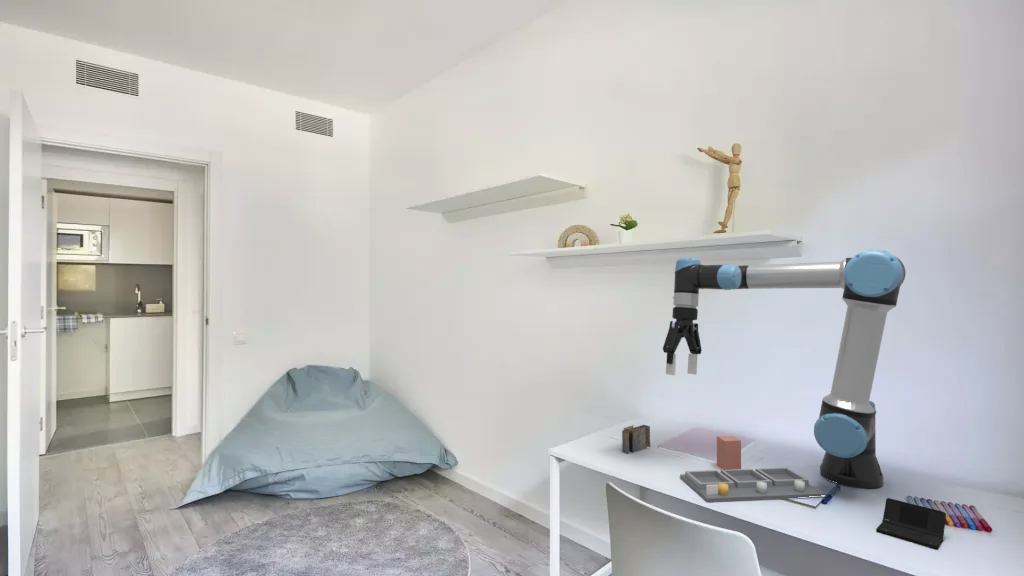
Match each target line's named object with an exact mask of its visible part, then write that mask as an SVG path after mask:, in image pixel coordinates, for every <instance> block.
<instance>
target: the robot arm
mask: <svg viewBox="0 0 1024 576" xmlns="http://www.w3.org/2000/svg"><path fill="white" fill-rule="evenodd" d="M905 278H906V267H905V265H904V263H903V262H902V261H901V259H900V258H898V257H897V256H896V255H893V254H892V253H891V252H889V251H886V250H881V249H869V250H868V249H867V250H864V251H861V252H859V253H857V254H855V255H854V256H853V257H845V258H844V259H842V260H841V261H828V262H827V261H824V262H795V263H776V264H775V263H773V264H772V263H771V264H770V263H769V264H753V265H752V264H751V265H750V264H749V265H745V264H744V265H736V264H726V263H725V264H706V265H705V264H702V263H701V260H700V259H699V258H693V257H682V258H678V259H677V260H676V261H675V268H674V284H673V285H674V289H673V297H672V299H673V302H672V303H673V306H674V307H672V319H673V320H671V321H670V322H669V327H668V331H667V333H666V337H665V340H664V344H663V346H662V351H663V353H665V354H666V362H665V363H666V364H665V365H666V367H665V375H668V376H669V375H670V376H676V365H677V353H676V351H677V349H678V347H679V345H680V343H681V340H682V339H683V338H684V339H685V341H686V344H687V347H688V350H689V352H690V353H688V357H687V361H688V362H687V374H689V375H697V367H698V355H701V354H702V349H703V348H702V344H701V340H700V338H701V337H700V333H699V323H694V321H696V320H698V315H699V314H698V311H699V310H698V307H699V296H700V295H699V294H700V293H699V292H700V290H701V289H702V290H705V289H706V290H723V291H730V290H749V289H750V290H751V289H755V290H756V289H757V290H759V289H760V290H761V289H764V290H765V289H843V293H842V298H841V299H842V300H843V302H844V303H845V305H847V308H846V314H845V318H844V322H843V328H842V332H841V338H840V343H839V348H838V354H837V359H836V365H835V368H834V369H835V370H834V374H833V379H832V384H831V388H830V389H831V390H830V393H829V394H827V395H825V396H823V398H822V400H821V401H822V402H821V406H820V411H819V415H818V419H816V421H815V423H814V425H813V436H814V438H815V441H816V443H817V444H818V445H819V447H820V448H821V449H822V450H824V451H825V453H824V456H823V459H822V462H821V463H820V466H819V474H821V475H820V476H821V477H822V476H823V477H824V479H825V478H826V480H827V479H828V480H827V481H829V480H831V481H834V482H837V483H838V485H840V486H841V485H842V486H846V487H851V488H858V489H878V488H882V487H883V485H884V475H883V472H882V469H881V466H880V462H879V461H878V457H877V455H876V454H877V453H876V452H877V451H876V450H877V448H876V444H877V443H876V439H877V438H876V434H877V433H876V414H877V410H876V404H875V402H873V401H871V400H870V398H871V393H872V389H873V383H874V378H875V373H876V369H877V364H878V360H879V354H880V351H881V350H880V349H881V345H882V340H883V335H884V331H885V325H886V320H887V316H888V312H890V311H891V310H892V309H894V308H896V307H897V304H898V299H899V294H900V289H901V286H902V285H903V283H904V282H905ZM823 477H822V478H823ZM831 481H830V482H831ZM834 482H833V483H834ZM837 483H836V484H837Z"/></svg>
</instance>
